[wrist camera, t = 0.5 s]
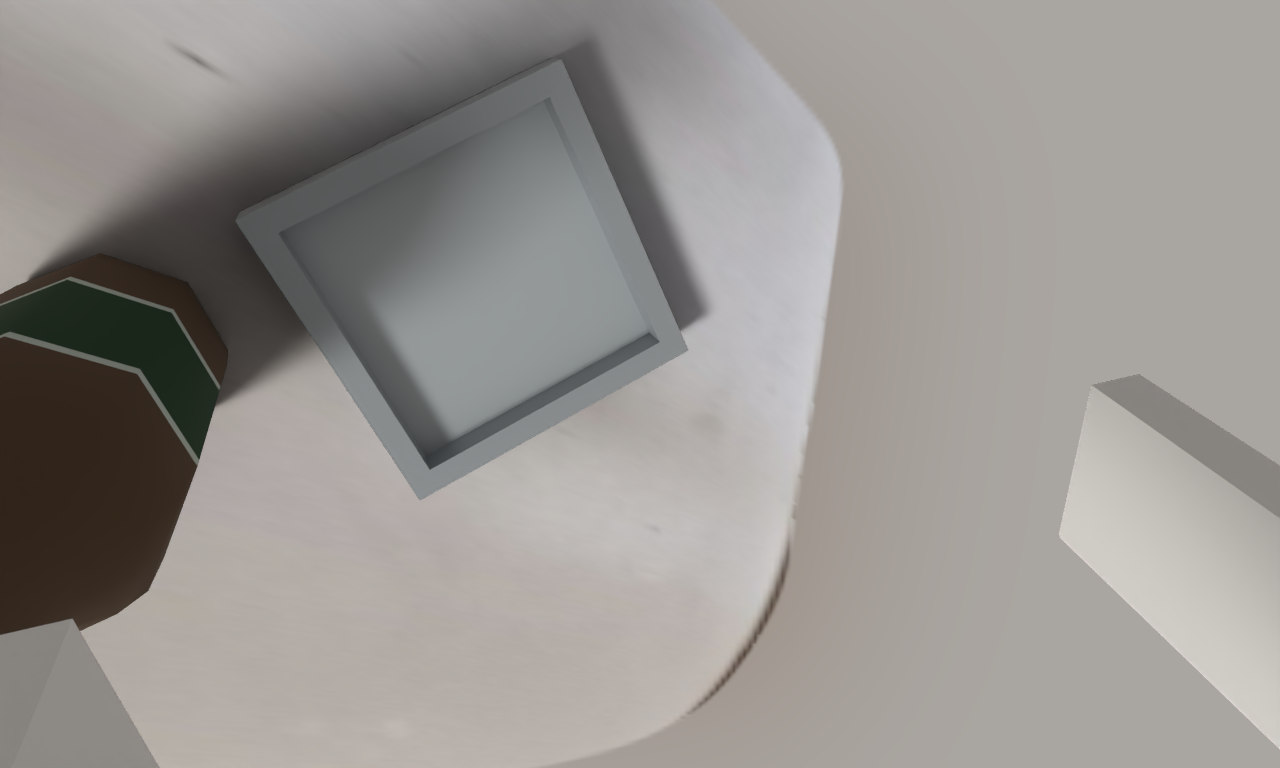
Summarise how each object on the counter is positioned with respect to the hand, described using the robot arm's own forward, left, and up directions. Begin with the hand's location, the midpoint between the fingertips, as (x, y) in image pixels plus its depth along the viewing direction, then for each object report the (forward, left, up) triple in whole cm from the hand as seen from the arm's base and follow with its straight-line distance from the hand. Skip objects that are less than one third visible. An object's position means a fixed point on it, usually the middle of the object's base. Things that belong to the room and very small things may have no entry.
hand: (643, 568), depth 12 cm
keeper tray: (+3, +1, -26) cm, 26 cm away
